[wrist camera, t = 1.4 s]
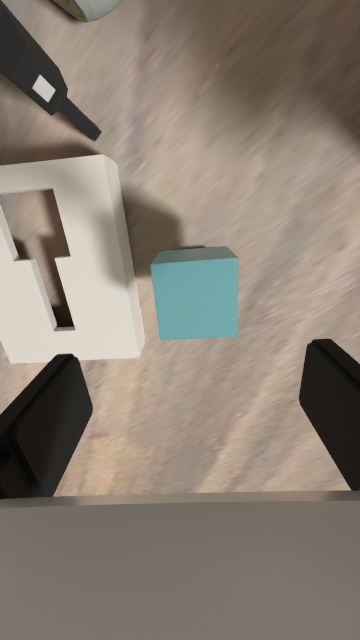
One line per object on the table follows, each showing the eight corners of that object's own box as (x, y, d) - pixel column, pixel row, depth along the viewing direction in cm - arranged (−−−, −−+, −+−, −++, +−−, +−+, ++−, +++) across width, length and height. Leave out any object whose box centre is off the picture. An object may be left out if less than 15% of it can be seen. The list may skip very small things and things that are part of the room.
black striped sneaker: (37, 40, 24) (-110, -127, 15) (125, 144, 21) (12, 18, 12) (23, 67, 25) (-125, -75, 16) (105, 170, 22) (-15, 72, 13)
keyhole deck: (116, 163, 23) (102, 154, 20) (145, 340, 32) (139, 357, 28) (-35, 179, 24) (-75, 173, 21) (30, 346, 33) (10, 363, 29)
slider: (219, 240, 26) (238, 257, 16) (220, 292, 28) (236, 336, 18) (165, 244, 26) (150, 264, 16) (170, 295, 29) (160, 340, 19)
